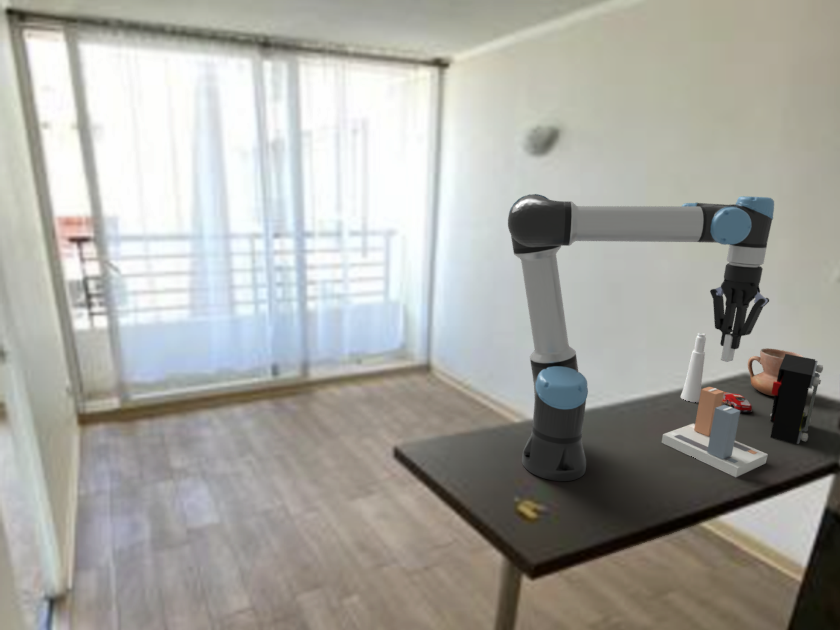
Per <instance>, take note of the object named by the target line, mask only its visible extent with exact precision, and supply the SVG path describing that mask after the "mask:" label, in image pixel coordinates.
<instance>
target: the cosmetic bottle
mask: <svg viewBox="0 0 840 630" xmlns="http://www.w3.org/2000/svg"><path fill="white" fill-rule="evenodd" d="M694 341H695V343H694V348H693V349H692V352H691V354H690V361H689V363H688V368H687V374H686V376H685V377H686V379H685V381H684V385H683V388H682V391H681V394H680V398H681V400H683V399H684V400H683V401H685V400H686V402H688V401H690V402H689V403H695V402H696V403H699V399H700V393H701V389H702V383H703V382H702V381H703V373H704V363H705V356H706V352H705V346H706V341H707V338H706V333H704V332H703V333H702V332H697V336H695V340H694Z"/></svg>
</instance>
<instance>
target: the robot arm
mask: <svg viewBox="0 0 840 630" xmlns="http://www.w3.org/2000/svg"><path fill="white" fill-rule="evenodd" d="M774 211H775V200H773V198H772V197H767V196H748V195H747V196H744V195H743V196H739V197H738V198H737V199H736V202H735V204H723V203H722V204H721V203H704V202H685V203H683V204H682V205H681V206H672V205H671V206H667V205H666V206H659V205H658V206H657V205H655V206H651V205H649V206H647V205H646V206H645V205H643V206H641V205H640V206H637V205H634V206H633V205H631V206H629V205H627V206H626V205H625V206H624V205H623V206H622V205H621V206H619V205H615V206H613V205H612V206H611V205H606V206H605V205H603V206H602V205H601V206H600V205H596V206H595V205H592V206H591V205H589V206H588V205H587V206H585V205H582V206H581V205H576V203H574V202H573V201H569V200H568V201H560V200H552V199H549V198H548V197H546V196H545V195H542V194H537V193H534V194H527V195H523V196H521V197H519V198H518V199H517V200H516V201H514V203H512V206H511V207H510V209H509V212H508V218H507V227H508V231H509V233H510V238H511V243H512V251H513V254H514V256H516V257H517V258H518V259H520V263H521V269H522V274H523V281H524V287H525V289H524V290H525V294H526V300H527V308H528V315H529V319H530V326H531V327H530V329H531V334H532V341H533V347H534V348H533V349H534V350H533V352H532V353H531V354H530V356H529V361H530V367H531V372H532V373H531V374H532V381H533V391H534V394H533V395H534V406H533V418H532V429H531V432H530V433H531V434H530V435H529V437H528V439H527V441H526V444H525V446H524V448H523V450H522V457H521V463H522V465H523V468H525V469H526V470H527V471H528V472H529V473H531V474H533V475H534V476H536V477H538V478H542V479H546V480H549V481H555V482H570V481H575V480H578V479H580V478H582V477H583V476H584V475H585V473H586V468H587V458H586V454H585V449H584V445H583V440H582V437H583V429H584V419H585V413H586V412H585V411H586V406H587V405H586V404H587V399H588V393H589V389H588V381H587V378H586V376H585V375H584V374H583V373H581V372H580V371H579V367H578V366H579V365H578V359H577V357H578V356H577V352H576V350H575V349H574V348H573V347H572V346H570V345H569V339H568V337H569V336H568V331H567V330H568V329H567V325H566V323H567V322H566V317H565V309H564V303H563V296H562V295H563V294H562V290H561V289H562V288H561V280H560V273H559V266H558V265H559V264H558V259H557V253H558V252H559V250H560V249H561V248H562V246H568V247H569V246H571V245H572V244H573V243H574V242H636V243H637V242H641V243H642V242H652V243H653V242H654V243H656V242H658V243H664V242H665V243H710V244H711V243H717V244H720V245H725V246H726V245H728V246H729V247H728V250H727V257H726V261H727V262H728V263H726V264H725V267H724V274H723V282H722V283H721V284H720V286H719V287H716V288H711V289H710V291H709V292H710V295H711V297H712V303H713V305H712V306H713V318H714V319H713V320H714V321H713V322H714V328H715V329H716V330H719V331H720V332H721V337H720V338H721V339H720V343H719V344H720V346H721V347H722V353H721V358H720V361H722V362H726V363H728V362H733V361H734V357H735V356H734V355H735V351H736V350H738V349H739V348H740V345H741V339H742V337H744V336H749V335H750V334H751V333H752V332H753V329H754V328H755V325H756V323H757V321H758V319H759V317H760V315H761V313H762V311H763V308H764V307H765V306H766V305H767V304H769V302H770V299H769V298H768V297H764V296H763V294H761V293H760V292H761V290H760V283H761V279H762V275H763V270H764V269H763V267H762V265H763V264H764V263H765V258H766V254H767V253H766V251H767V246H768V242H769V236H770V231H771V227H772V222H773V219H774ZM723 295H724V296H723ZM724 297H725V302H724ZM753 300H754V301H753ZM752 301H753V303H754V304H753V305H752V307H751V309H750V311H749V313H748V308H749V306H750V303H751V302H752ZM747 313H748V315H747Z"/></svg>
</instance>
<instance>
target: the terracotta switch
mask: <svg viewBox="0 0 840 630" xmlns="http://www.w3.org/2000/svg"><path fill="white" fill-rule="evenodd" d="M724 392H725V391H723V390H720V389H718V388H716V387H712V386H707V387H704V388H701V393H700V399H699V402H698V405H697V406H698V407H697V410H696V411H697V412H696V418H695V423H694V424H695V428H694V431H697V432H699V433H701V434H704V435H706V436H710V434H711V428H712V423H713V417H714V412H715V408H716V407H719V406H722V405H723V402H722V401H723V396H724Z"/></svg>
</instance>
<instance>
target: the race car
mask: <svg viewBox="0 0 840 630" xmlns="http://www.w3.org/2000/svg"><path fill="white" fill-rule="evenodd" d="M722 404H724V405H726V406H729V407H732V408H734V409H737V410H740V413H752V410H753V409H752V408H753V405H752V403H750V402H749V400H748V399H747V398H745V396H743V395H742V394H739V393H732V392H726V391H724V396H723V401H722Z"/></svg>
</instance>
